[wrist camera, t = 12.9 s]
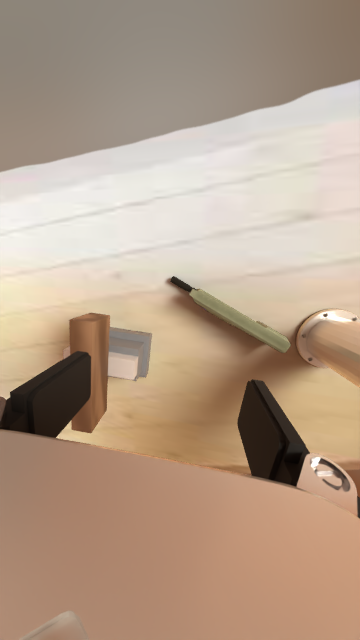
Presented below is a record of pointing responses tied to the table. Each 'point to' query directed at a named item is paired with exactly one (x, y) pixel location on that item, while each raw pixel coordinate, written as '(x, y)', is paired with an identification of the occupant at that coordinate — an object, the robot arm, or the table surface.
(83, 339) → the walnut bar
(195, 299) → the handheld radio
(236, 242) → the table surface
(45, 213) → the table surface
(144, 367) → the ridge stand
